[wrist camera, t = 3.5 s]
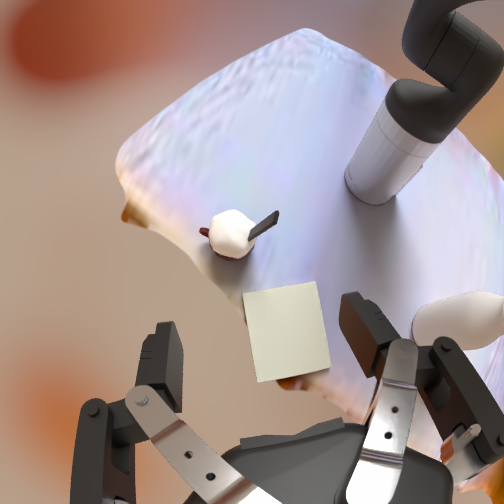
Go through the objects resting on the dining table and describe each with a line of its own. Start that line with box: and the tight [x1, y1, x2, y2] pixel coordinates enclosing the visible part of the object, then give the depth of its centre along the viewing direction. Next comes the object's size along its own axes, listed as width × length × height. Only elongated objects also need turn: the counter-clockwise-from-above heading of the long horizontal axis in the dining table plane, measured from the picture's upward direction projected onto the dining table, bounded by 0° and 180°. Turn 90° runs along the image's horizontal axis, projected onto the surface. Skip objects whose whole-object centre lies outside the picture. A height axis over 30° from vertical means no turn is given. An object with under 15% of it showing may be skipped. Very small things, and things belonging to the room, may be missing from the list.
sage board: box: [242, 281, 332, 383], centre depth 36 cm, size 10×12×1 cm
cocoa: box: [199, 209, 279, 261], centre depth 34 cm, size 10×6×12 cm, turn 54°
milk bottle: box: [412, 291, 504, 351], centre depth 27 cm, size 8×8×20 cm
